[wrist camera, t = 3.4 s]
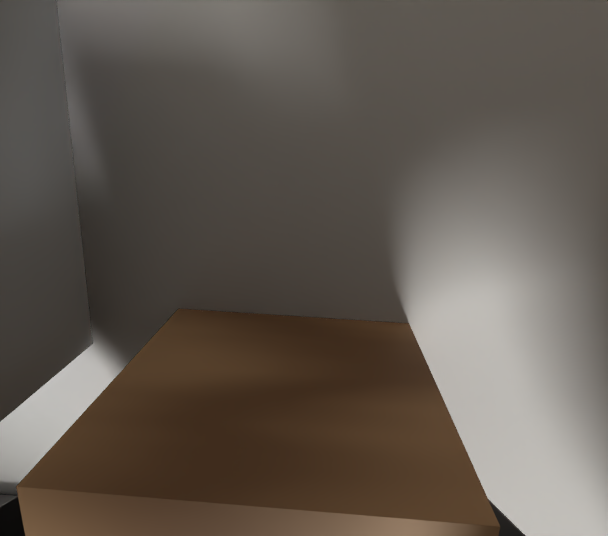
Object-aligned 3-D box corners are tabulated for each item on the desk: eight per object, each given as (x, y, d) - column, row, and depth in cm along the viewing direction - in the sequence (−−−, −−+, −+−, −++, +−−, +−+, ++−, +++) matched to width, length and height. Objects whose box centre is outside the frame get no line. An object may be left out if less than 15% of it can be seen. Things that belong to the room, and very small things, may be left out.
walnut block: (409, 323, 9) (500, 526, 4) (385, 509, 10) (433, 819, 6) (178, 308, 9) (16, 486, 4) (186, 493, 11) (69, 778, 6)
